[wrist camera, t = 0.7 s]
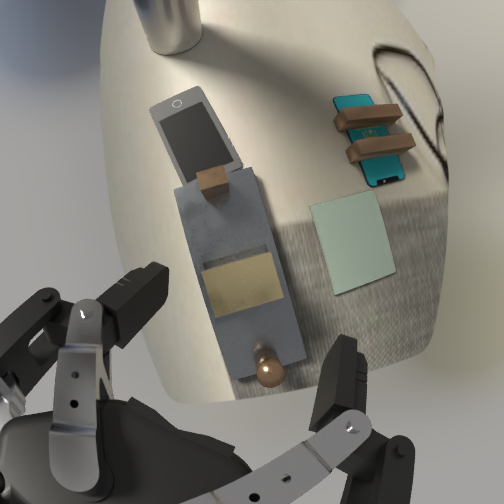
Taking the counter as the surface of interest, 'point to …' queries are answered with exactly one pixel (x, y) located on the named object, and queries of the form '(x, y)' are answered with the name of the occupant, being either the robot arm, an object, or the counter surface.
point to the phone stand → (371, 118)
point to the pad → (353, 240)
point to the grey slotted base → (231, 249)
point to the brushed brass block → (242, 284)
